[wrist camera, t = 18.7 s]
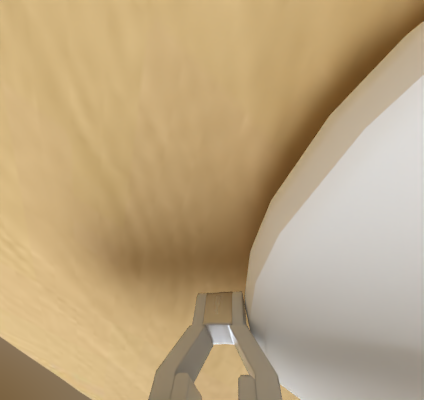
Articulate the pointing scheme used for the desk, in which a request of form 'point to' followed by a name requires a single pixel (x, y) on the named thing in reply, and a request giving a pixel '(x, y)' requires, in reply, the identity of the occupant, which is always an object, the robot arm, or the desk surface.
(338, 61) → the desk surface
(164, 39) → the desk surface
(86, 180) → the desk surface
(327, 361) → the plate
